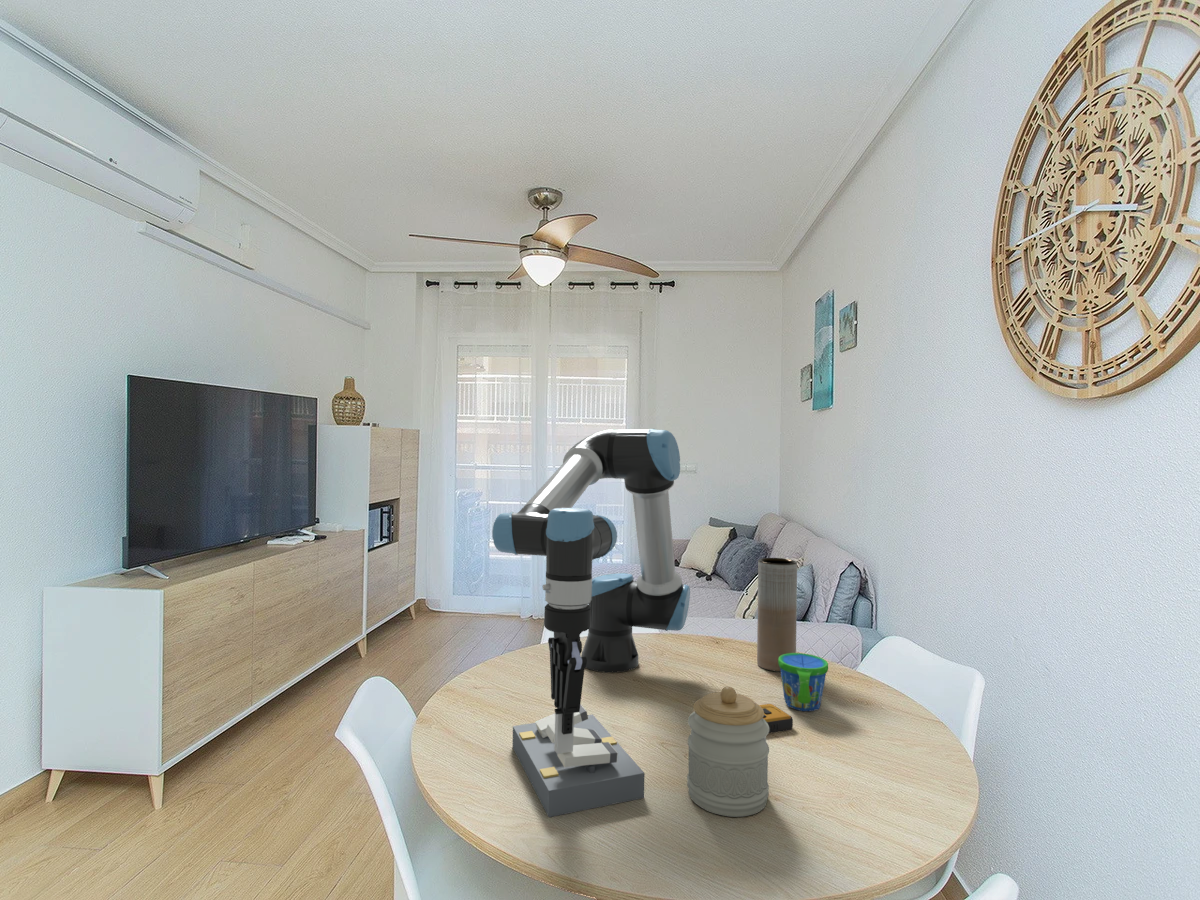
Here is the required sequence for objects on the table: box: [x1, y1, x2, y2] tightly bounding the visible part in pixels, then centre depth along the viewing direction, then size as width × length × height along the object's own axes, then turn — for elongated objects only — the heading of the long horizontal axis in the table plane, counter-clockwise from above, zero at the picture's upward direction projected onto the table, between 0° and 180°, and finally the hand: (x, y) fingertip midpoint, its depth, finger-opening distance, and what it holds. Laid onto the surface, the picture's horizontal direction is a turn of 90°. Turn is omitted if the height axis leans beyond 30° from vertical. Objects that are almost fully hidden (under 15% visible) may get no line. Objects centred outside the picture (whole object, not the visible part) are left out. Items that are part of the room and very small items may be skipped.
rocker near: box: [557, 742, 618, 767], centre depth 102 cm, size 4×9×2 cm, turn 111°
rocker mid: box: [546, 724, 602, 745], centre depth 109 cm, size 4×9×2 cm, turn 111°
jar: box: [686, 686, 770, 818], centre depth 102 cm, size 13×13×18 cm
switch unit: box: [512, 714, 646, 818], centre depth 109 cm, size 24×16×5 cm, turn 21°
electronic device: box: [758, 703, 794, 734], centre depth 128 cm, size 8×16×3 cm, turn 109°
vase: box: [756, 557, 798, 673], centre depth 165 cm, size 10×10×28 cm
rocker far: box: [534, 703, 589, 738], centre depth 115 cm, size 4×9×2 cm, turn 111°
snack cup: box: [778, 652, 829, 712], centre depth 139 cm, size 16×10×10 cm
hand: (563, 750), depth 101 cm, fingers closed
